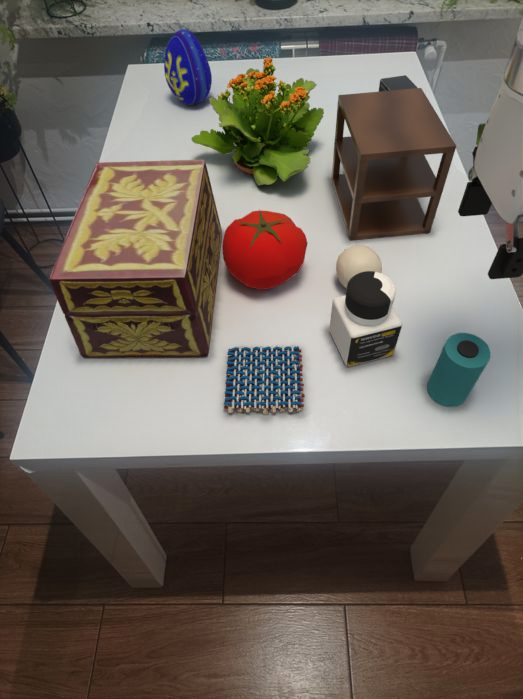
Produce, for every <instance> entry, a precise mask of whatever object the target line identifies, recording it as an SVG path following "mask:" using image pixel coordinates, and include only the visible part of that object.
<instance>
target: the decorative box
mask: <svg viewBox="0 0 523 699" xmlns="http://www.w3.org/2000/svg"><path fill="white" fill-rule="evenodd" d="M222 237H223V231H222V226H221V221H220V217H219V213H218V209H217V205H216V200H215V196H214V193H213V188H212V183H211V179H210V175H209V171H208V167H207V163H206V160H205V159H177V160H175V159H173V160H143V161H141V160H139V161H137V160H136V161H106V162H97V163H96V164H95V166H94V167H93V170H92V172H91V175H90V177H89V180H88V182H87V185H86V187H85V189H84V192H83V194H82V197H81V199H80V202H79V204H78V206H77V209H76V211H75V214H74V216H73V219H72V221H71V223H70V226H69V228H68V231H67V233H66V236H65V237H64V240H63V243H62V245H61V248H60V251H59V254H58V256H57V257H56V261H55V263H54V265H53V268H52V270H51V273H50V276H49V283H50V286H51V288H52V291H53V293H54V295H55V298H56V300H57V303H58V304H59V307H60V309H61V311H62V314H63V315H64V319H65V321H66V323H67V326H68V328H69V331H70V333H71V335H72V338H73V340H74V342H75V344H76V347H77V349H78V352H79V354H80V356H81V357H82V358H84V359H85V358H86V359H87V358H88V359H89V358H90V359H95V358H96V359H98V358H99V359H100V358H101V359H103V358H104V359H106V358H107V359H111V358H115V359H116V358H117V359H118V358H119V359H120V358H122V359H123V358H124V359H126V358H129V359H131V358H207V357H208V355H209V348H210V341H211V334H212V333H211V332H212V323H213V315H214V308H215V307H214V306H215V299H216V291H217V290H216V289H217V281H218V273H219V263H220V255H221V254H220V253H221V246H222Z"/></svg>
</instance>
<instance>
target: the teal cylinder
mask: <svg viewBox="0 0 523 699" xmlns="http://www.w3.org/2000/svg"><path fill="white" fill-rule="evenodd" d="M491 356H492V352H491V349H490V346H489V344H488V343H487V342H486V341H485V340H484V339H482V338H481V337H479V336H477V335H475V334H473V333H469V332H457V333H454V334H451V335H450V336H448V338H447V339H446V340H445V343H444V344H443V347H442V349H441V352H440V353H439V356H438V358H437V361H436V362H435V365H434V367H433V368H432V371H431V374H430V376H429V378H428V380H427V383H426V390H427V393H428V395H429V397H430V398H431V399H432V400H433V401H434V402H435V403H437V404H438V405H441V406H443V407H448V408H455V407H458V406H461V405H462V404H464V403H465V402H466V400H467V399H468V397H469V396H470V393H471V392H472V390H473V388H474V387H475V385H476V383H478V380H479V378H480V377H481V376H482V373H483V371H484V370H485V368H486V367H487V365H488V363H489V361H490V360H491Z"/></svg>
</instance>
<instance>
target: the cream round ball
mask: <svg viewBox="0 0 523 699" xmlns="http://www.w3.org/2000/svg"><path fill="white" fill-rule="evenodd" d="M382 264H383V263H382V260H381V258H380V256H379V254H378V253H377V252H376V250H374V249H372V248H371V247H369V246H367V245H363V244H357V245H352V246H349V247H347V248H345V249H344V250H343V251H342V252H341V253H340V254H338V256H337V260H336V264H335V272H336V276H337V279H338V281H339V283H340V284H341V285H342V286H343V287H344V288H346V289H347V284H348V282H349V280H350V279H351V278H352V277H353V276H355V275H356V274H358V273H361V272H365V271H374V272H379V273H382V272H383V265H382ZM382 274H383V273H382Z"/></svg>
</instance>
